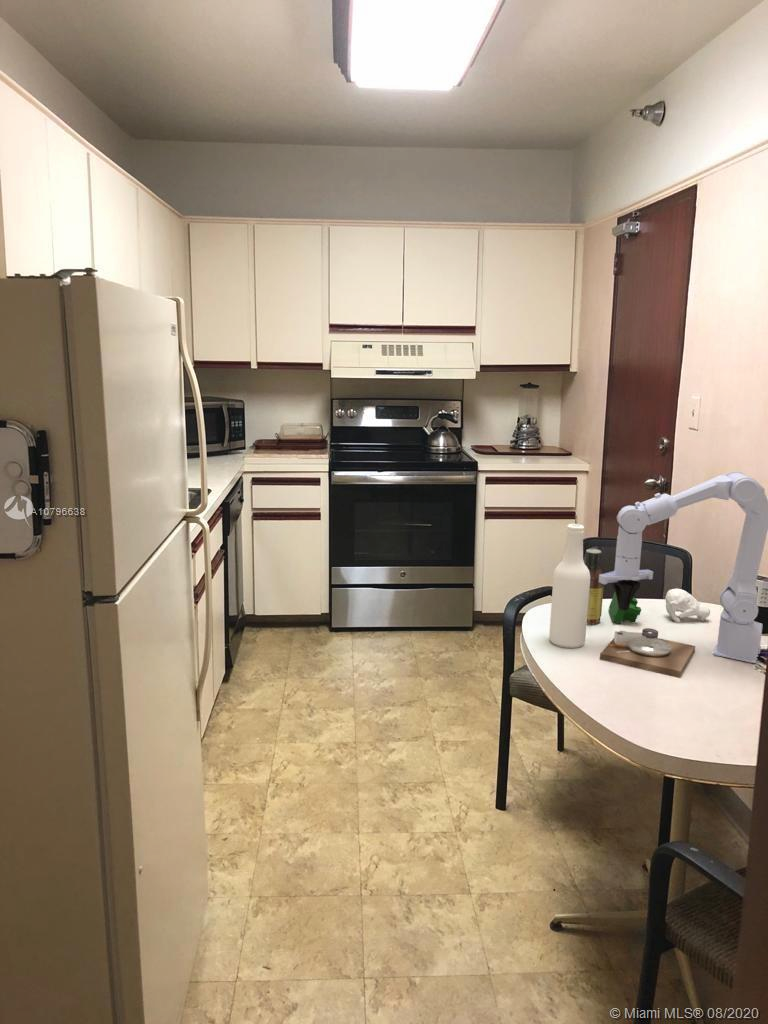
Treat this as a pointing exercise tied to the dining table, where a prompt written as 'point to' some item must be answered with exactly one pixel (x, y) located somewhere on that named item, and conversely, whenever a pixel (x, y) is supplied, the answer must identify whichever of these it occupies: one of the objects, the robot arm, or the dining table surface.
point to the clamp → (621, 615)
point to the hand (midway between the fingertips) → (623, 609)
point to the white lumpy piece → (685, 605)
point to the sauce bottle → (594, 586)
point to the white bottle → (570, 593)
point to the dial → (643, 642)
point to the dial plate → (651, 658)
